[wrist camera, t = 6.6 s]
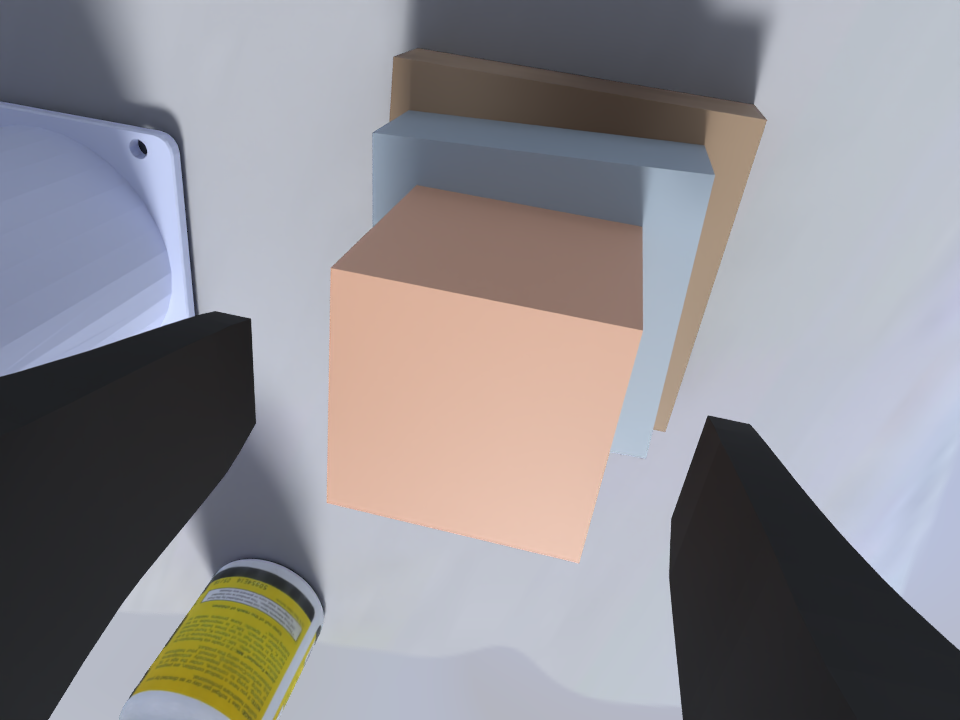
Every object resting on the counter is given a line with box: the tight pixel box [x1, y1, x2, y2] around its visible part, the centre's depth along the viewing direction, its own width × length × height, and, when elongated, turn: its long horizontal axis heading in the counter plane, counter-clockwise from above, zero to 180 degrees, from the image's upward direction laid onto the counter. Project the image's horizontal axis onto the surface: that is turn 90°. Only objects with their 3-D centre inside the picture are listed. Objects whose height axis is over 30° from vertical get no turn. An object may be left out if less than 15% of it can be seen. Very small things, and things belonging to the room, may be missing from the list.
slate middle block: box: [372, 110, 715, 459], centre depth 16 cm, size 6×6×2 cm
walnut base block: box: [390, 48, 767, 432], centre depth 18 cm, size 8×8×2 cm
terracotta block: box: [327, 185, 643, 563], centre depth 13 cm, size 4×4×4 cm
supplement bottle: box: [119, 559, 324, 720], centre depth 24 cm, size 5×5×8 cm
